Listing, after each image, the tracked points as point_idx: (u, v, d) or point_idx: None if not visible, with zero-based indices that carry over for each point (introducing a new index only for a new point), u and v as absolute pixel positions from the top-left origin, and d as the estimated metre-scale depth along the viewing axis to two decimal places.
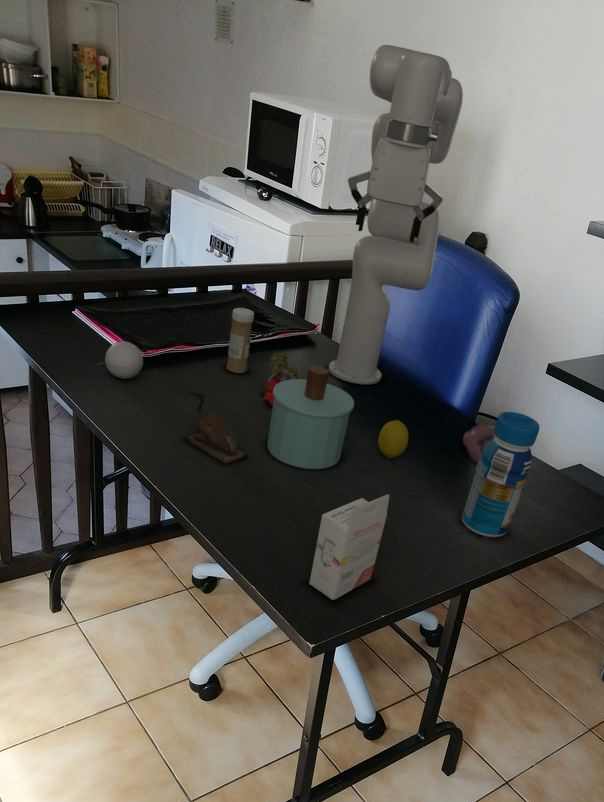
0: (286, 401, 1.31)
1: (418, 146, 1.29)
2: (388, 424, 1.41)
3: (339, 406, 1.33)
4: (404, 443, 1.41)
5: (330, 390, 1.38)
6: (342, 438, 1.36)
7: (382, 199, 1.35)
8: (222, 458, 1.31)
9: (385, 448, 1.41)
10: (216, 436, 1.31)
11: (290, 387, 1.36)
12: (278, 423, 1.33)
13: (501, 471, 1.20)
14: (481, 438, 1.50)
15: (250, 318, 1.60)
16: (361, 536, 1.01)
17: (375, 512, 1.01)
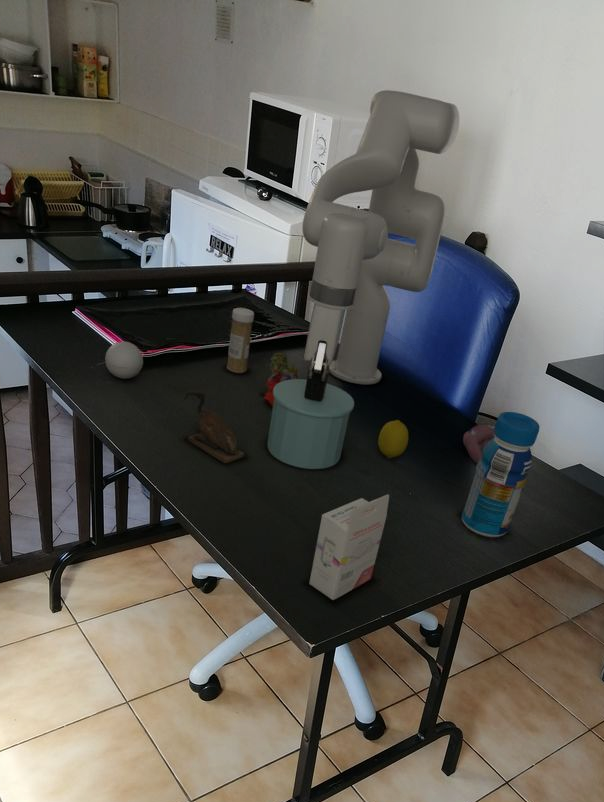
0: (286, 401, 1.31)
1: None
2: (388, 424, 1.41)
3: (339, 406, 1.33)
4: (404, 443, 1.41)
5: (330, 390, 1.38)
6: (342, 438, 1.36)
7: None
8: (222, 458, 1.31)
9: (385, 448, 1.41)
10: (216, 436, 1.31)
11: (290, 387, 1.36)
12: (278, 423, 1.33)
13: (501, 471, 1.20)
14: (481, 438, 1.50)
15: (250, 318, 1.60)
16: (361, 536, 1.01)
17: (375, 512, 1.01)
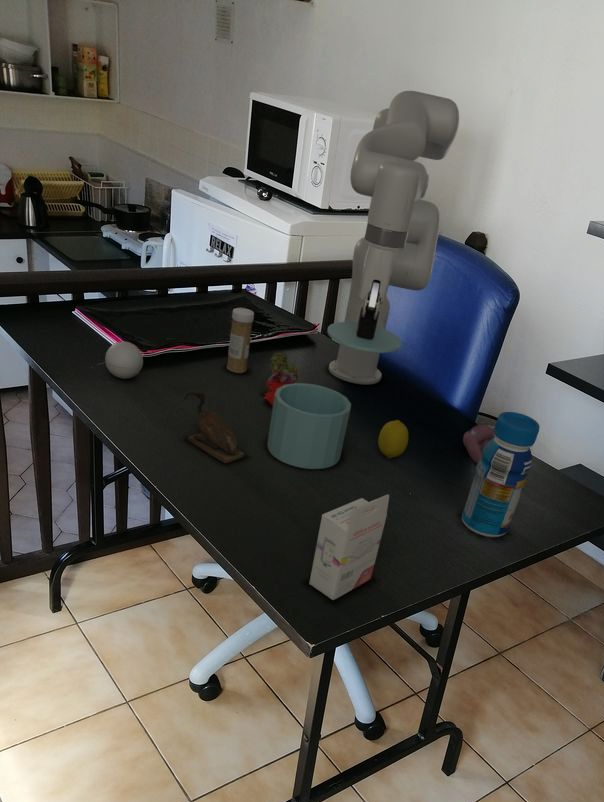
0: (341, 338, 1.42)
1: None
2: (388, 424, 1.41)
3: (389, 344, 1.44)
4: (404, 443, 1.41)
5: (378, 331, 1.50)
6: (342, 438, 1.36)
7: None
8: (222, 458, 1.31)
9: (385, 448, 1.41)
10: (216, 436, 1.31)
11: (342, 327, 1.47)
12: (278, 423, 1.33)
13: (501, 471, 1.20)
14: (481, 438, 1.50)
15: (250, 318, 1.60)
16: (361, 536, 1.01)
17: (375, 512, 1.01)
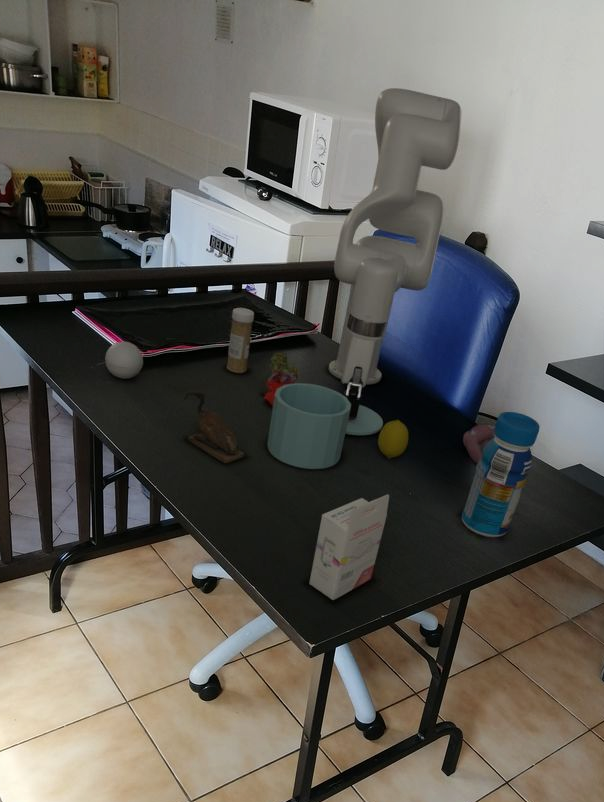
0: None
1: None
2: (388, 424, 1.41)
3: (370, 425, 1.53)
4: (404, 443, 1.41)
5: (361, 410, 1.58)
6: (342, 438, 1.36)
7: None
8: (222, 458, 1.31)
9: (385, 448, 1.41)
10: (216, 436, 1.31)
11: None
12: (278, 423, 1.33)
13: (501, 471, 1.20)
14: (481, 438, 1.50)
15: (250, 318, 1.60)
16: (361, 536, 1.01)
17: (375, 512, 1.01)
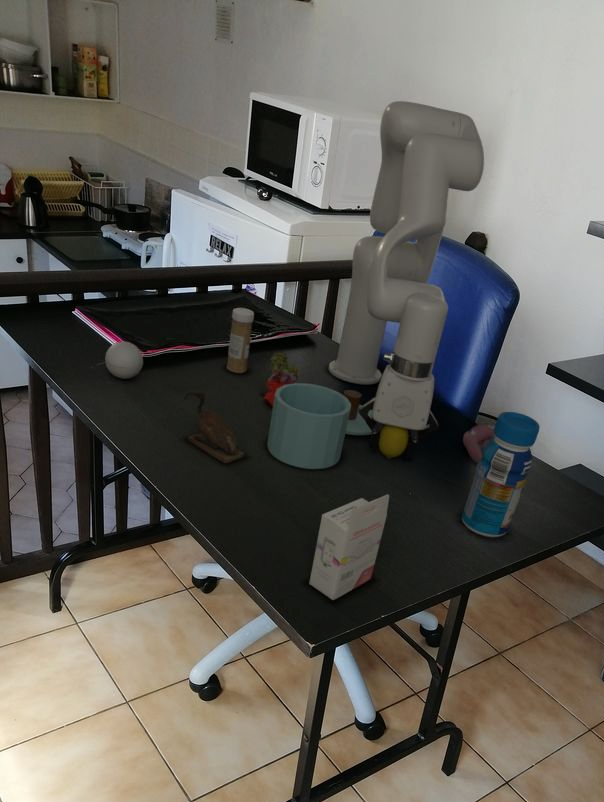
0: None
1: None
2: None
3: None
4: (404, 443, 1.41)
5: None
6: (342, 438, 1.36)
7: None
8: (222, 458, 1.31)
9: (385, 448, 1.41)
10: (216, 436, 1.31)
11: None
12: (278, 423, 1.33)
13: (501, 471, 1.20)
14: (481, 438, 1.50)
15: (250, 318, 1.60)
16: (361, 536, 1.01)
17: (375, 512, 1.01)
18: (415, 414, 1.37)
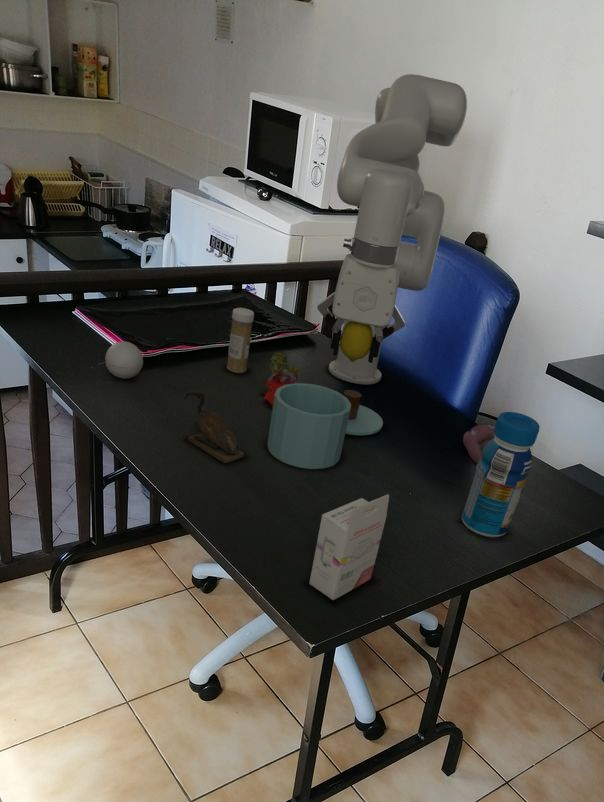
0: None
1: None
2: (350, 322, 1.29)
3: (370, 425, 1.53)
4: (368, 343, 1.29)
5: (361, 410, 1.58)
6: (342, 438, 1.36)
7: None
8: (222, 458, 1.31)
9: (347, 349, 1.29)
10: (216, 436, 1.31)
11: None
12: (278, 423, 1.33)
13: (501, 471, 1.20)
14: (481, 438, 1.50)
15: (250, 318, 1.60)
16: (361, 536, 1.01)
17: (375, 512, 1.01)
18: (379, 308, 1.25)
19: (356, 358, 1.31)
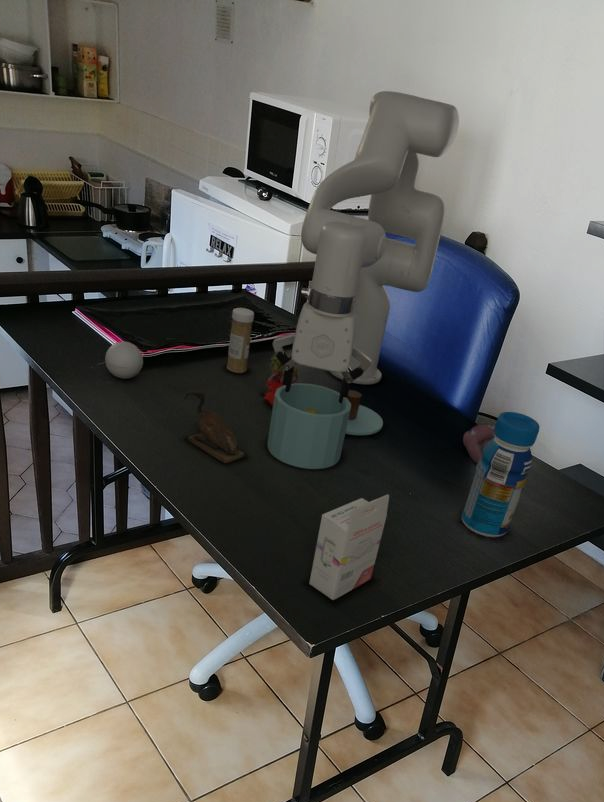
0: None
1: None
2: None
3: (370, 425, 1.53)
4: None
5: (361, 410, 1.58)
6: (342, 438, 1.36)
7: None
8: (222, 458, 1.31)
9: None
10: (216, 436, 1.31)
11: None
12: (278, 423, 1.33)
13: (501, 471, 1.20)
14: (481, 438, 1.50)
15: (250, 318, 1.60)
16: (361, 536, 1.01)
17: (375, 512, 1.01)
18: (336, 354, 1.28)
19: None
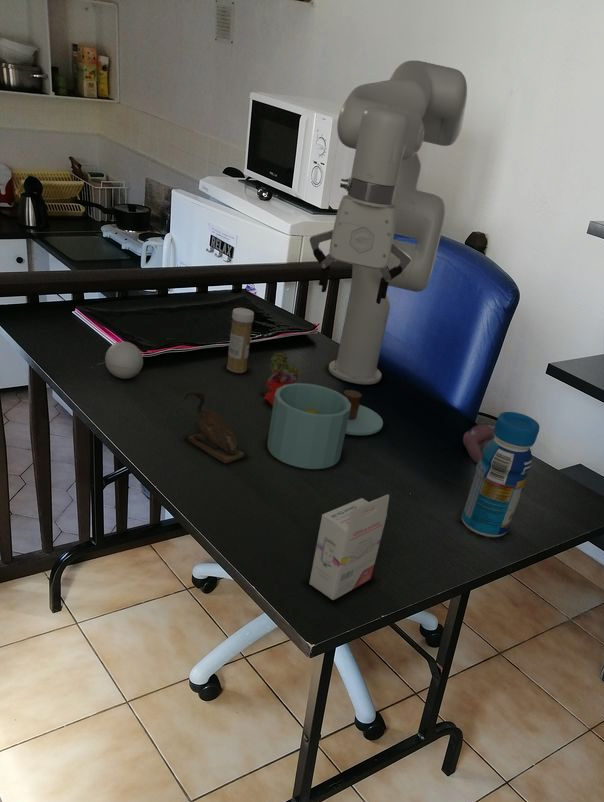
0: None
1: None
2: None
3: (370, 425, 1.53)
4: None
5: (361, 410, 1.58)
6: (342, 438, 1.36)
7: None
8: (222, 458, 1.31)
9: None
10: (216, 436, 1.31)
11: None
12: (278, 423, 1.33)
13: (501, 471, 1.20)
14: (481, 438, 1.50)
15: (250, 318, 1.60)
16: (361, 536, 1.01)
17: (375, 512, 1.01)
18: (375, 249, 1.25)
19: None
